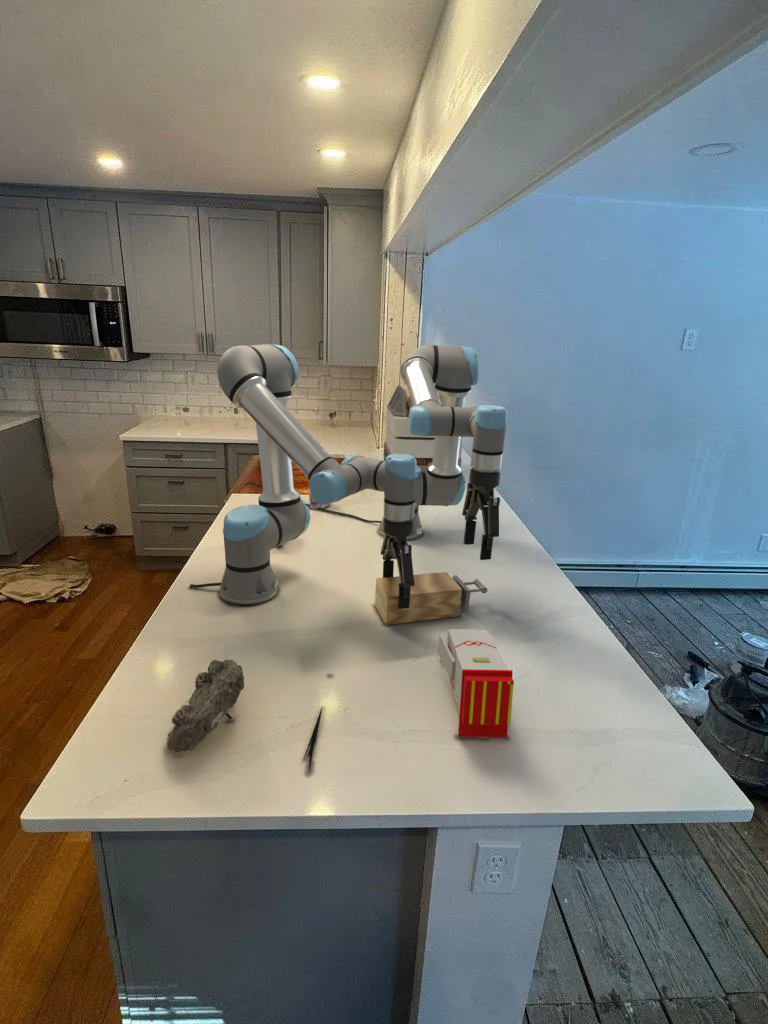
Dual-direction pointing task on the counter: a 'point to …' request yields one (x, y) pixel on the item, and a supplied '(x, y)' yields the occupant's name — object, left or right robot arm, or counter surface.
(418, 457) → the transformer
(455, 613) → the wooden block
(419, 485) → the right robot arm
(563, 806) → the counter surface
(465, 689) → the toy
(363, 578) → the counter surface
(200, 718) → the fossil
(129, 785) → the counter surface
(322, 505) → the figurine
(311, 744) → the feather
